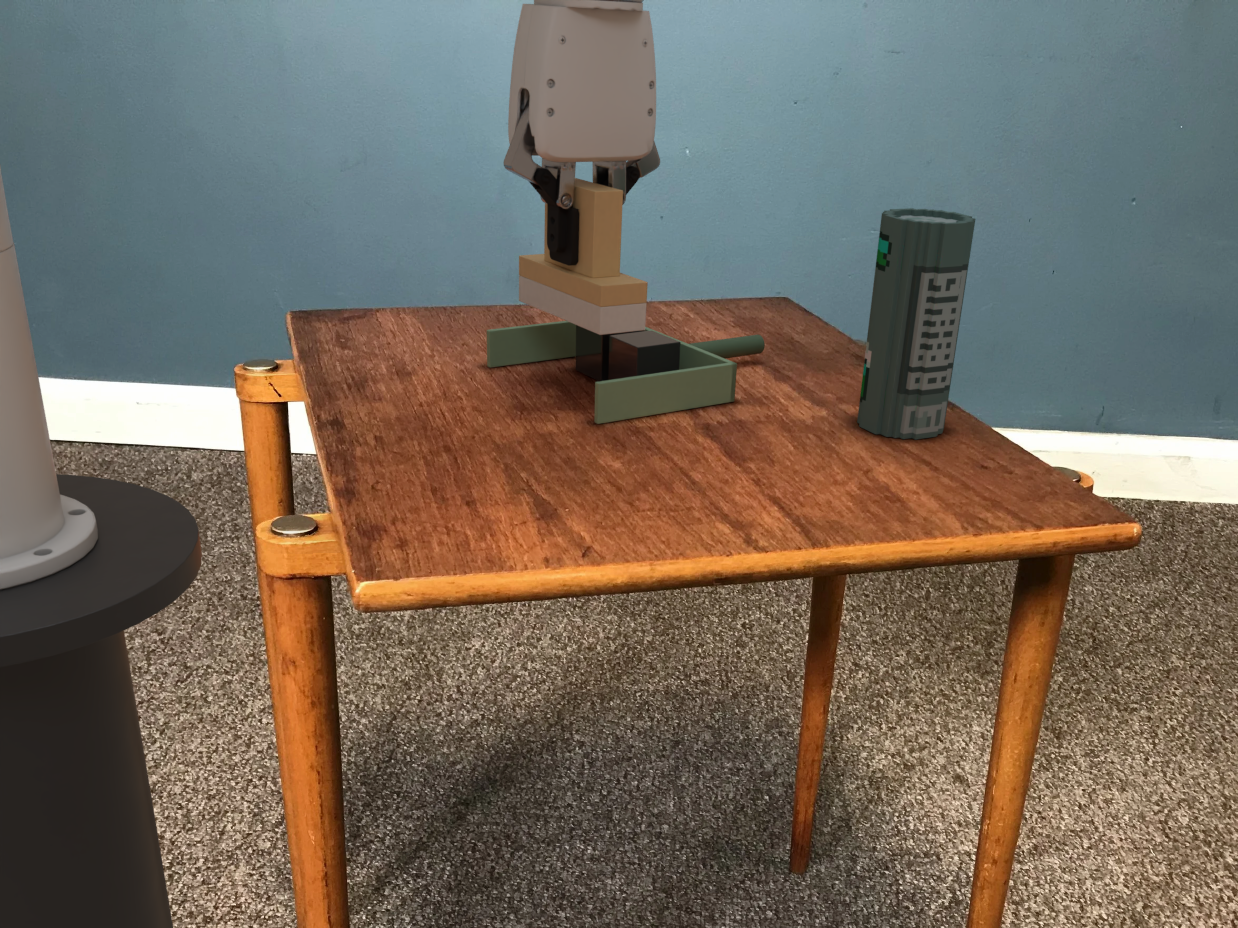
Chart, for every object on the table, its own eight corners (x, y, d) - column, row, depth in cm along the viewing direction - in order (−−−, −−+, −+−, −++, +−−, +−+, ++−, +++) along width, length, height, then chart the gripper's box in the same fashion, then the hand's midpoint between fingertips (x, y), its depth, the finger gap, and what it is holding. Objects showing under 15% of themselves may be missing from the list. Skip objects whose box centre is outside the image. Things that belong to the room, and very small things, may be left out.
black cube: (635, 399, 100) (637, 347, 98) (607, 385, 103) (609, 335, 101) (678, 392, 102) (680, 341, 100) (649, 379, 105) (651, 330, 103)
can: (907, 410, 101) (934, 207, 94) (958, 433, 96) (991, 221, 89) (843, 418, 98) (866, 210, 91) (892, 442, 93) (921, 225, 86)
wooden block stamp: (599, 335, 94) (604, 197, 90) (518, 301, 102) (519, 173, 98) (645, 330, 96) (652, 195, 92) (562, 297, 105) (564, 172, 100)
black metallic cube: (601, 382, 103) (602, 332, 102) (574, 370, 106) (575, 321, 104) (642, 376, 106) (644, 327, 104) (616, 364, 108) (617, 316, 107)
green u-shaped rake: (597, 424, 94) (598, 383, 93) (486, 366, 106) (486, 329, 105) (822, 387, 105) (826, 350, 104) (699, 338, 117) (701, 304, 116)
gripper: (655, -12, 96) (642, 246, 104) (457, -24, 87) (461, 258, 96) (715, -8, 91) (697, 264, 99) (511, -21, 82) (511, 277, 90)
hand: (581, 258), depth 97 cm, fingers closed on wooden block stamp, 2 cm apart
